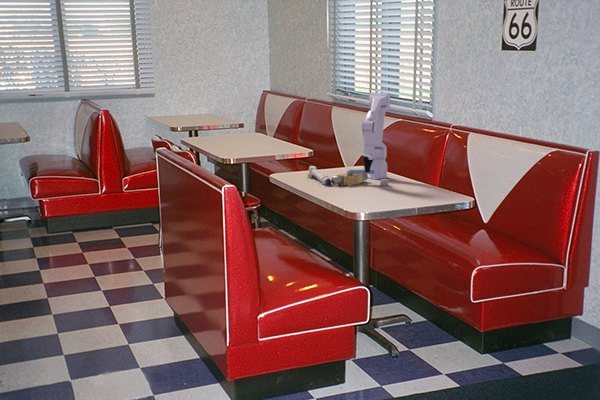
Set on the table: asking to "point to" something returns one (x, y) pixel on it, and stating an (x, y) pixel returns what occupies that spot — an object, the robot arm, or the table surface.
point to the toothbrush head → (318, 176)
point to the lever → (359, 171)
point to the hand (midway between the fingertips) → (367, 172)
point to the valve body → (349, 179)
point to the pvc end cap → (384, 182)
